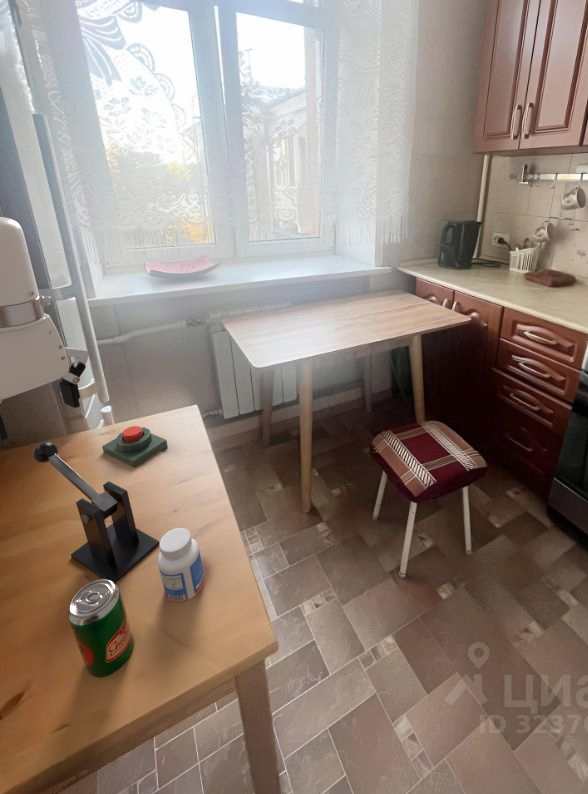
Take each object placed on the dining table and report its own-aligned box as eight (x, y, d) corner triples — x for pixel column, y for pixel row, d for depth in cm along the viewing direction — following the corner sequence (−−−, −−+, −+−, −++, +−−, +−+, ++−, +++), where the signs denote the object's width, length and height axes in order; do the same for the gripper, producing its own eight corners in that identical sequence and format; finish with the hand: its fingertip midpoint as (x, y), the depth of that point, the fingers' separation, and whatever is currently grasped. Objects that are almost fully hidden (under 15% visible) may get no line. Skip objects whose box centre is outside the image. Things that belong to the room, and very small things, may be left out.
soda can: (122, 687, 47) (100, 621, 42) (79, 685, 47) (54, 619, 42) (144, 640, 51) (127, 576, 47) (105, 639, 51) (85, 575, 47)
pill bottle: (195, 563, 62) (187, 516, 58) (211, 587, 58) (203, 539, 55) (159, 586, 58) (148, 537, 55) (173, 613, 55) (162, 563, 51)
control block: (103, 454, 85) (100, 439, 83) (137, 434, 91) (134, 420, 90) (135, 469, 81) (131, 453, 79) (168, 447, 87) (165, 432, 86)
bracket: (72, 560, 62) (53, 502, 57) (120, 523, 68) (106, 469, 64) (113, 588, 58) (96, 528, 53) (160, 546, 64) (148, 490, 60)
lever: (28, 458, 62) (27, 445, 61) (50, 447, 65) (49, 434, 64) (99, 524, 58) (100, 512, 57) (120, 510, 61) (121, 497, 59)
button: (120, 439, 84) (118, 432, 83) (135, 430, 87) (134, 424, 86) (131, 444, 82) (129, 437, 82) (146, 435, 85) (145, 428, 85)
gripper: (60, 293, 62) (82, 389, 68) (-96, 325, 47) (-50, 442, 53) (90, 302, 59) (110, 401, 65) (-67, 338, 44) (-21, 461, 50)
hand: (38, 419), depth 59 cm, fingers open, 9 cm apart
